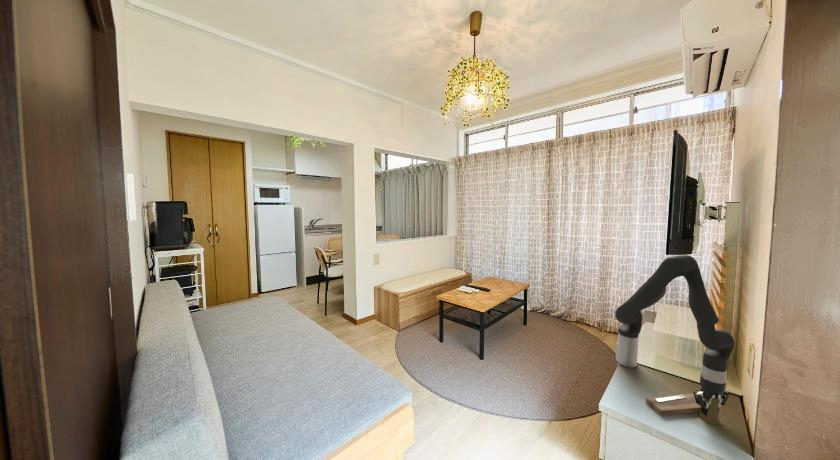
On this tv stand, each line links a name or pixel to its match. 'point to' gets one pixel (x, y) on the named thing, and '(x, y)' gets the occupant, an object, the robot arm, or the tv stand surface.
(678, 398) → the steel ruler
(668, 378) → the tv stand surface
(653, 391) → the tv stand surface
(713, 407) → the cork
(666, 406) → the walnut board
